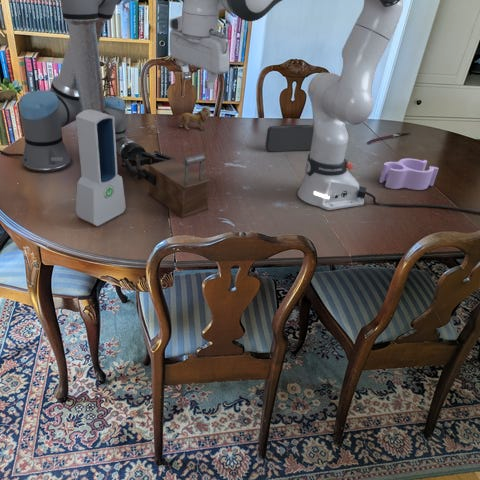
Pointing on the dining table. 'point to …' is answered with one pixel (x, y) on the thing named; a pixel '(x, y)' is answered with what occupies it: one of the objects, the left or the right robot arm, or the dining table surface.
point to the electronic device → (98, 169)
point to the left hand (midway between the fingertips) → (168, 176)
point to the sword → (386, 137)
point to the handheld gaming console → (289, 137)
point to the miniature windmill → (108, 76)
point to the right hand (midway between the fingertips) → (197, 83)
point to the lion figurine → (195, 118)
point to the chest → (179, 196)
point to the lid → (182, 172)
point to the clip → (408, 174)
